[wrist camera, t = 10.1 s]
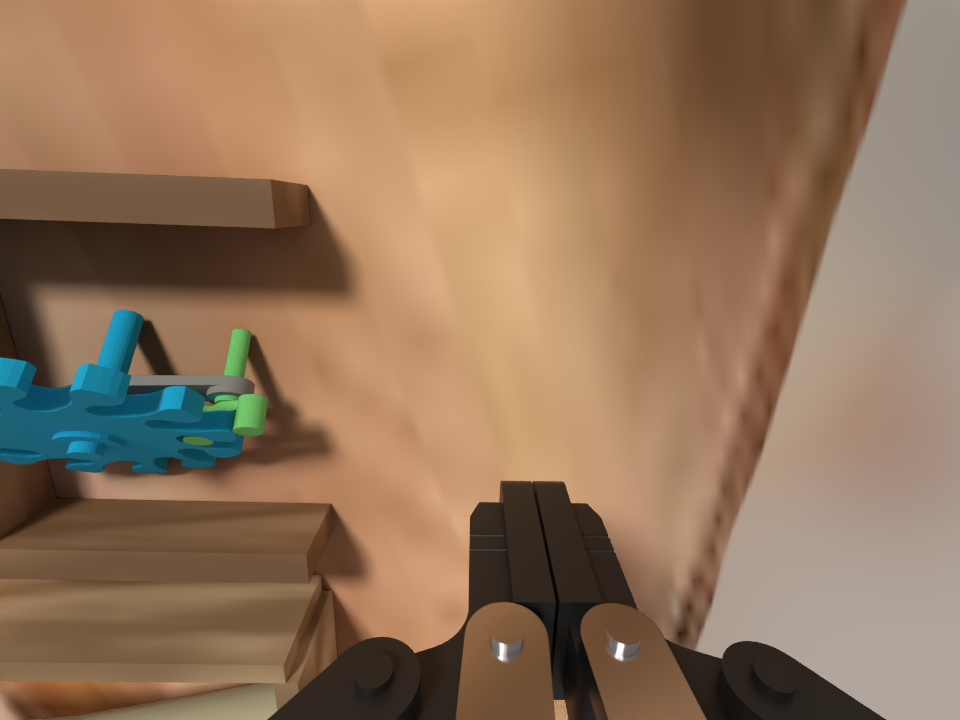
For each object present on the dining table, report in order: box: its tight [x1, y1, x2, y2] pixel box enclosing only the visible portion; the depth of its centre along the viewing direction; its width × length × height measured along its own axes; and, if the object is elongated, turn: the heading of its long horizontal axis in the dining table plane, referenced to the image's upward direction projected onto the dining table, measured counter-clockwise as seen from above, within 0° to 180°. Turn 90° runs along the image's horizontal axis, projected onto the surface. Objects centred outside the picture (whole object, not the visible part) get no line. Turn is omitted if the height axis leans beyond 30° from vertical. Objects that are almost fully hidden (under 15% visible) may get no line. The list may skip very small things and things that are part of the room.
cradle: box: [0, 169, 333, 584], centre depth 19 cm, size 16×14×4 cm
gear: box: [0, 310, 268, 473], centre depth 18 cm, size 11×6×10 cm
